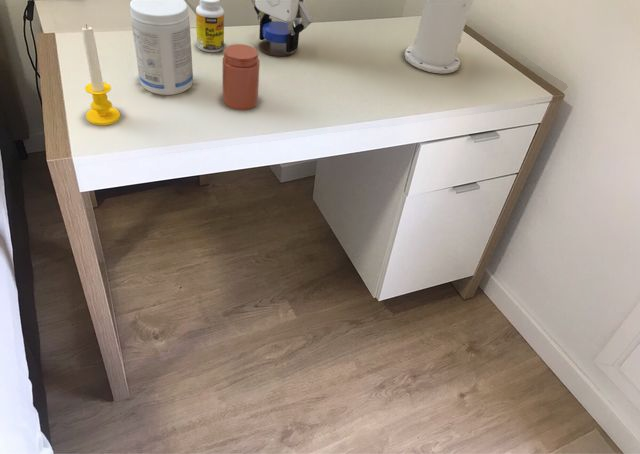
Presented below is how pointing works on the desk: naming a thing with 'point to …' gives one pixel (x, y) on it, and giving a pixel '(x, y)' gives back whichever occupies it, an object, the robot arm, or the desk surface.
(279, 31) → the jar lid
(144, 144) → the desk surface
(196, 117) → the desk surface
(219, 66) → the desk surface
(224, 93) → the jar
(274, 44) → the coaster
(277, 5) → the robot arm
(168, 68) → the supplement tub
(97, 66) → the candle
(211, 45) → the supplement bottle
